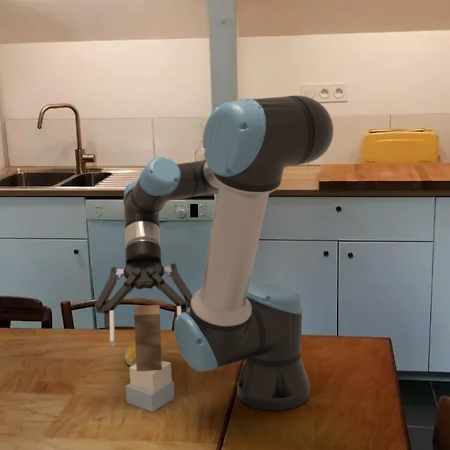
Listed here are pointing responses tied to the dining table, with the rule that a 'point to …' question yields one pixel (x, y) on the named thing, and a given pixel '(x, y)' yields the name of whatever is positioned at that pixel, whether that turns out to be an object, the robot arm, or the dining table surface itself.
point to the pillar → (147, 337)
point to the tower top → (151, 377)
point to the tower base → (150, 396)
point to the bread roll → (131, 355)
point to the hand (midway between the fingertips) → (146, 341)
